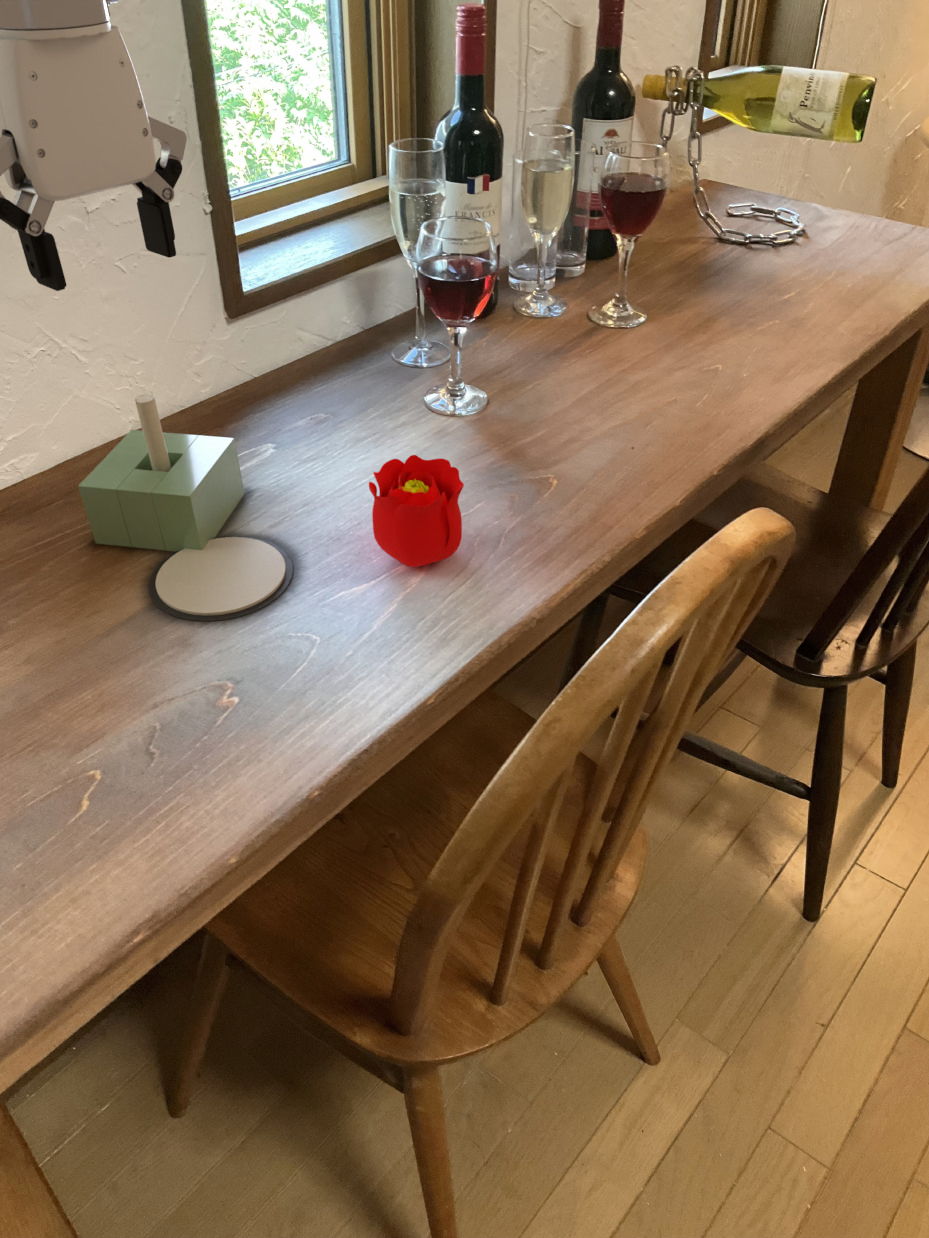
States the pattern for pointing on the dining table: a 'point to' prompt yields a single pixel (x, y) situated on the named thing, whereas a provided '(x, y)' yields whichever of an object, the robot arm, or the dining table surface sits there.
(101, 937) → the dining table surface
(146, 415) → the pen
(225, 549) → the beige coaster disc
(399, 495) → the flower
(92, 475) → the pen stand
